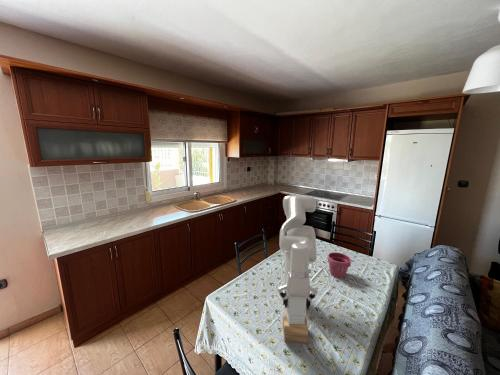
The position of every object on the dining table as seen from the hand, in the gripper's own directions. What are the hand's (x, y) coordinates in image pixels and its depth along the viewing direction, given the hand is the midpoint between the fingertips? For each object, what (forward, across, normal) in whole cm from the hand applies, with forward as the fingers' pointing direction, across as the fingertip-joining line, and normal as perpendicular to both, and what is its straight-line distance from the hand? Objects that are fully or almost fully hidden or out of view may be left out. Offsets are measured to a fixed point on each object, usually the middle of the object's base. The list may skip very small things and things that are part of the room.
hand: (296, 306), depth 93 cm
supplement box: (+6, 0, 0) cm, 6 cm away
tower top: (+10, 0, 0) cm, 10 cm away
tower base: (+14, 0, 0) cm, 14 cm away
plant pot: (+14, -36, -48) cm, 62 cm away
